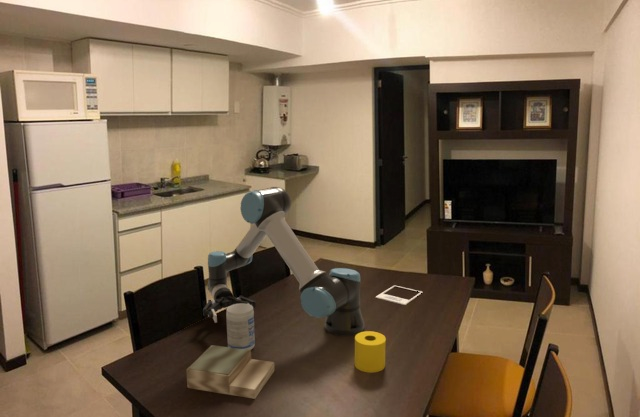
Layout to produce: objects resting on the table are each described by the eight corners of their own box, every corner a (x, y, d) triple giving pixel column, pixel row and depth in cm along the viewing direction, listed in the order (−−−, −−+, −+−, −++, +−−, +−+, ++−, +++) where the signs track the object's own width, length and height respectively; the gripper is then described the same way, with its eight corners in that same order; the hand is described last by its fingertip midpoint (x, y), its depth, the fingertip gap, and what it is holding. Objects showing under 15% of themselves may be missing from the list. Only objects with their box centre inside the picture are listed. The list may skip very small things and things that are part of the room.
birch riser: (274, 370, 154) (274, 352, 153) (255, 398, 139) (254, 379, 138) (212, 361, 160) (211, 344, 159) (187, 387, 145) (186, 368, 144)
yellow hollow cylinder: (354, 356, 163) (354, 331, 161) (383, 357, 163) (384, 331, 161) (355, 372, 154) (355, 345, 152) (386, 372, 153) (387, 345, 151)
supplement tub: (256, 352, 167) (254, 312, 164) (228, 355, 164) (226, 315, 162) (253, 339, 176) (252, 301, 173) (227, 342, 174) (225, 304, 171)
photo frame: (375, 296, 215) (394, 284, 229) (375, 298, 215) (394, 287, 230) (405, 303, 207) (422, 291, 221) (405, 306, 207) (422, 293, 221)
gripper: (252, 300, 201) (267, 320, 182) (192, 309, 192) (200, 331, 173) (252, 283, 200) (266, 301, 181) (191, 291, 191) (199, 311, 171)
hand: (234, 316), depth 177 cm, fingers open, 13 cm apart
